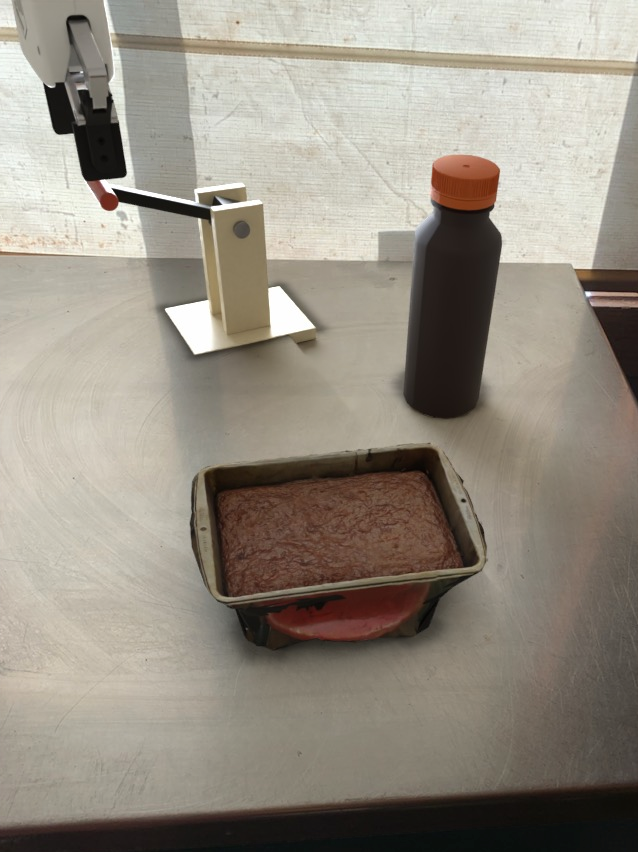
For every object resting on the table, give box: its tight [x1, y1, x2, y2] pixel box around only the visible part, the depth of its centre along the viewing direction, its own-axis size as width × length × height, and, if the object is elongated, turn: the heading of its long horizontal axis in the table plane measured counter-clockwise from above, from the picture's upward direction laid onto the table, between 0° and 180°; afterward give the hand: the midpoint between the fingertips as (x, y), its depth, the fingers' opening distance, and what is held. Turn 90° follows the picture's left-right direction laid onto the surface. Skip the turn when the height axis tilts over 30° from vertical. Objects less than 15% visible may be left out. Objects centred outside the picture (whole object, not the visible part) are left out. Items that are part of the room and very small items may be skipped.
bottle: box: [402, 154, 503, 419], centre depth 64 cm, size 7×7×20 cm
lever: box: [83, 178, 241, 226], centre depth 66 cm, size 13×5×2 cm, turn 119°
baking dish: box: [189, 442, 488, 651], centre depth 52 cm, size 14×18×10 cm
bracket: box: [164, 182, 317, 356], centre depth 72 cm, size 12×9×13 cm
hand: (89, 154), depth 62 cm, fingers open, 9 cm apart
